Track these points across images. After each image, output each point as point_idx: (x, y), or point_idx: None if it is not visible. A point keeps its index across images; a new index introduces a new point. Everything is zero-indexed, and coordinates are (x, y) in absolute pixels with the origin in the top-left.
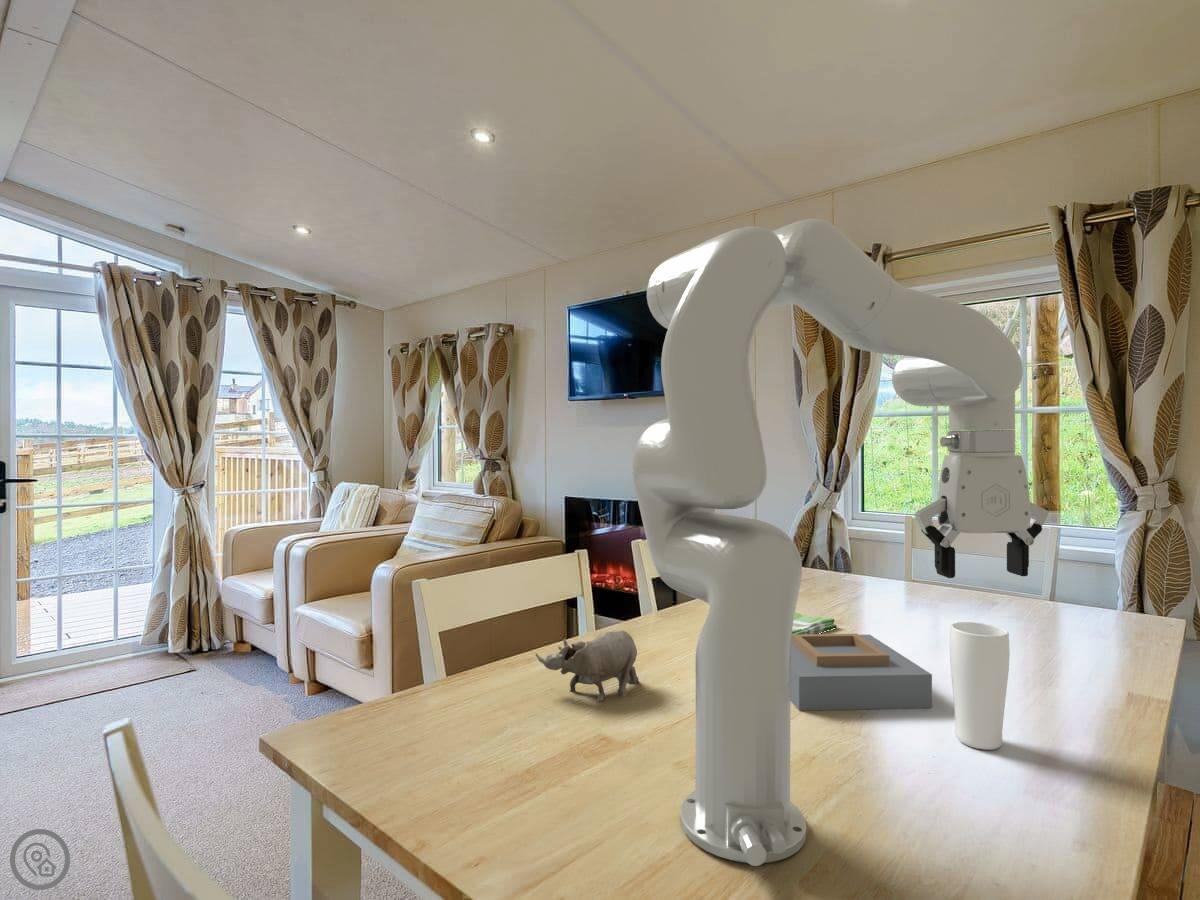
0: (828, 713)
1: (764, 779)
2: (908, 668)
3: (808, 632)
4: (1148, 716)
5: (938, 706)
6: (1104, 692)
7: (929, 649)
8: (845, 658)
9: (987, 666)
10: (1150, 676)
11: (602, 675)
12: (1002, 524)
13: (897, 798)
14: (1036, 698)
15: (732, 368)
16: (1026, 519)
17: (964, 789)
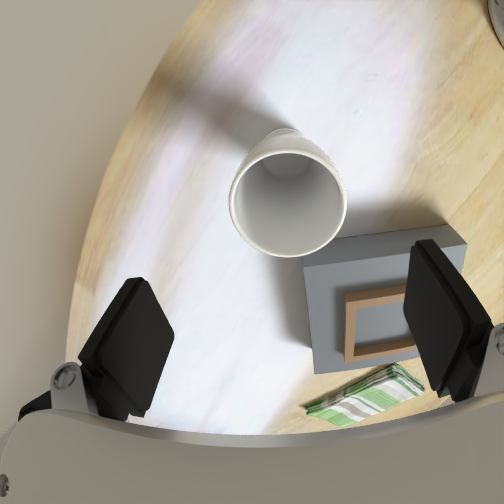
0: (424, 219)
1: None
2: (324, 284)
3: (344, 393)
4: (90, 245)
5: None
6: (110, 293)
7: (235, 375)
8: (403, 291)
9: (293, 136)
10: (77, 320)
11: None
12: (154, 491)
13: (420, 33)
14: (170, 278)
15: None
16: (12, 455)
17: (350, 41)
